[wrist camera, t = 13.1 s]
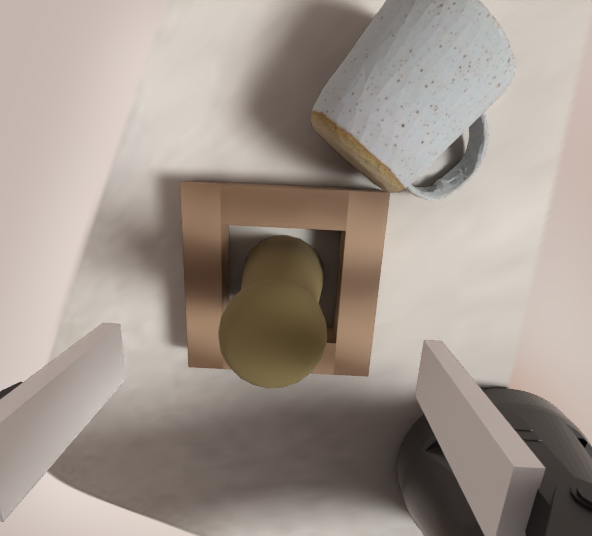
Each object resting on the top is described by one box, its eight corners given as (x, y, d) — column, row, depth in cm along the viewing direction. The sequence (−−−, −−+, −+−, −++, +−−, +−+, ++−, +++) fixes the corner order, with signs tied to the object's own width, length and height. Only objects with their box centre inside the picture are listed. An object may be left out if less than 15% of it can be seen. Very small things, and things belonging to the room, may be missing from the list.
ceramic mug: (299, 126, 23) (300, 109, 15) (384, 11, 21) (430, -71, 14) (416, 225, 25) (467, 252, 17) (504, 128, 23) (602, 111, 15)
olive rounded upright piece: (332, 304, 26) (351, 396, 16) (255, 320, 27) (223, 420, 16) (314, 226, 25) (323, 271, 14) (233, 245, 25) (182, 303, 15)
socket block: (362, 358, 27) (368, 376, 25) (198, 349, 28) (188, 367, 25) (381, 190, 24) (390, 192, 21) (192, 180, 24) (180, 182, 21)
